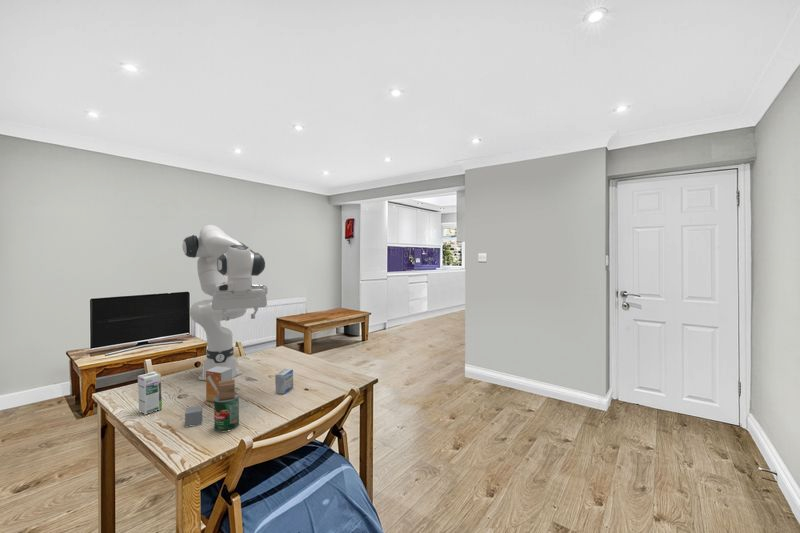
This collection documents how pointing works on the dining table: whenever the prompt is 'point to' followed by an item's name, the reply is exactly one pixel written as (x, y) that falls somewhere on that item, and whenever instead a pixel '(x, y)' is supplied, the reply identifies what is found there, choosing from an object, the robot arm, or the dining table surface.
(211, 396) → the small box
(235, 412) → the canned tomato
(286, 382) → the medicine box
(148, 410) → the syrup box
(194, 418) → the slate block
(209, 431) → the dining table surface
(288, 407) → the dining table surface
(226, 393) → the walnut block
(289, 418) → the dining table surface
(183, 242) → the robot arm
